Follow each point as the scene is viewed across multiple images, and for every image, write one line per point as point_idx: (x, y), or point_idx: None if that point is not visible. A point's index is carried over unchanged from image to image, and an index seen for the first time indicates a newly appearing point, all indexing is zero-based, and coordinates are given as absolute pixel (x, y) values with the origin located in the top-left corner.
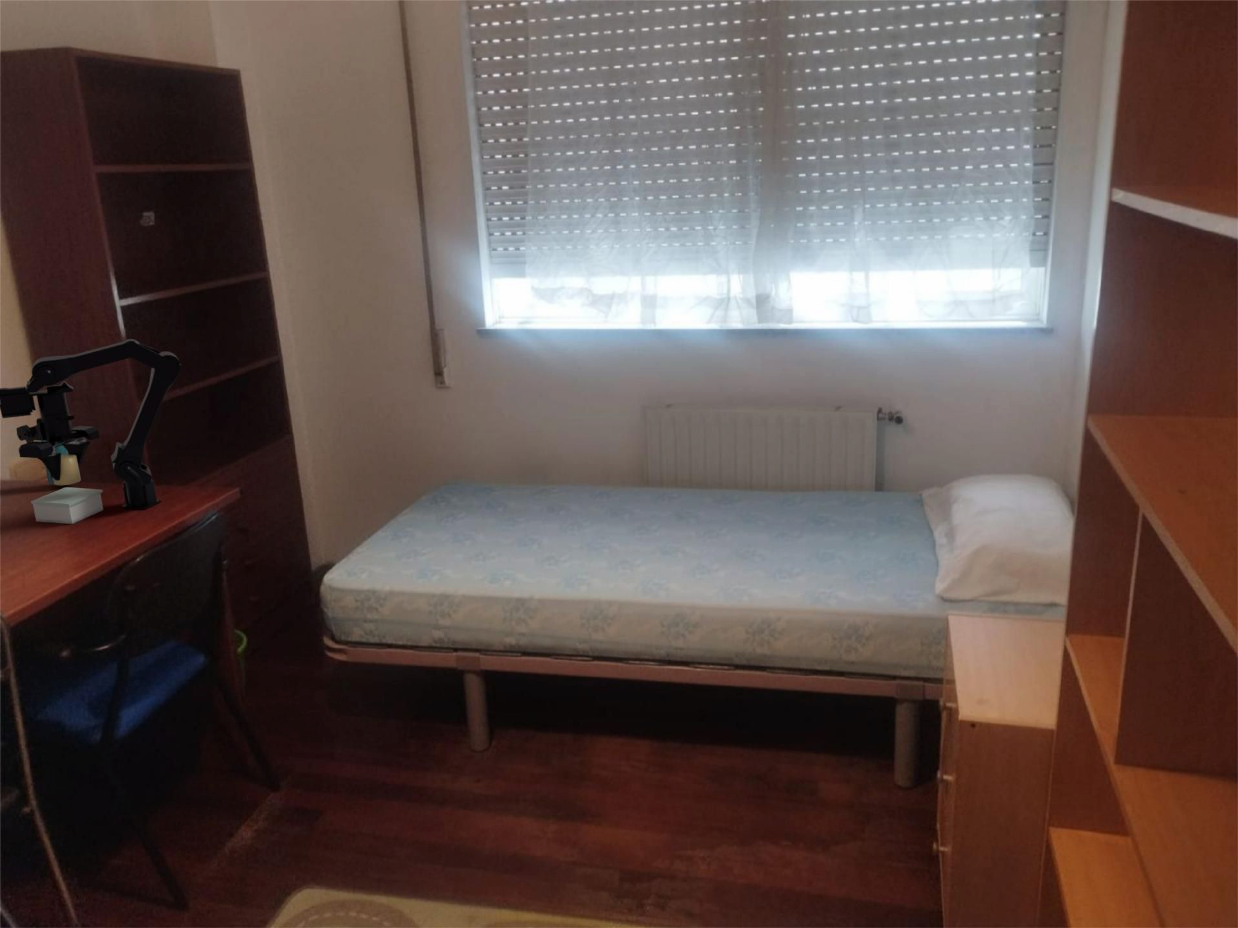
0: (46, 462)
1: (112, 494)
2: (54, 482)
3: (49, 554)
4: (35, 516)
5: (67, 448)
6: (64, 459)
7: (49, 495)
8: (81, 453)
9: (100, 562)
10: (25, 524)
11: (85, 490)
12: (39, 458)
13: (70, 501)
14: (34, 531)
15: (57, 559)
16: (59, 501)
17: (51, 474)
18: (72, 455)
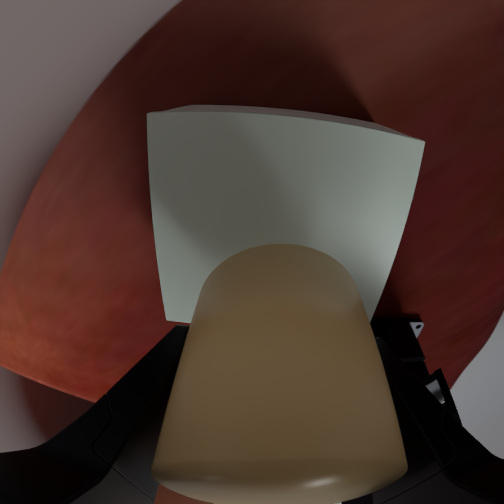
0: (83, 449)
1: (495, 205)
2: (208, 281)
3: (43, 324)
4: (184, 106)
5: (455, 501)
6: (212, 500)
7: (265, 141)
8: (374, 502)
9: (74, 393)
10: (152, 90)
11: (361, 280)
12: (19, 462)
13: (194, 310)
14: (103, 188)
15: (43, 344)
16: (181, 267)
17: (147, 356)
18: (340, 498)
